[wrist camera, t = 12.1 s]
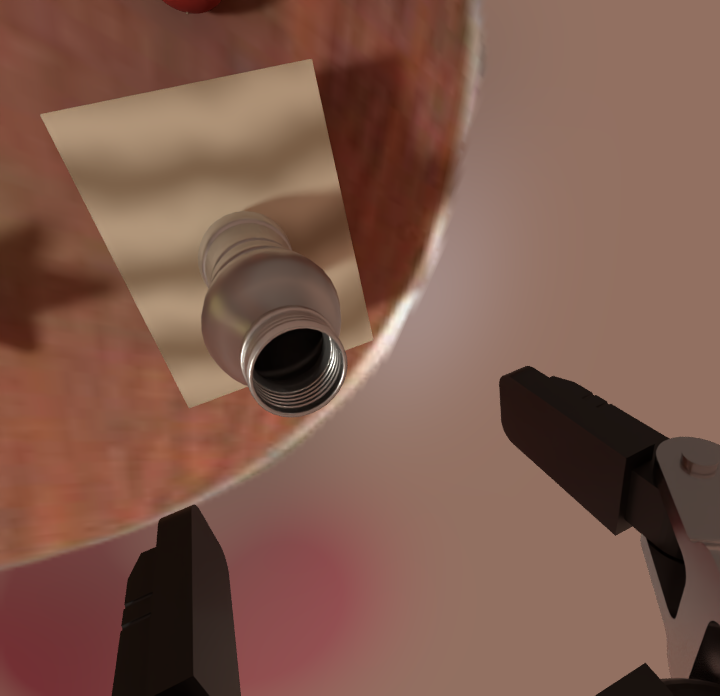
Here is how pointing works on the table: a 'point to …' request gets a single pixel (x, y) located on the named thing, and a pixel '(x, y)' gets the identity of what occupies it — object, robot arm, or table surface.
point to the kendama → (193, 5)
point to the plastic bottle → (270, 315)
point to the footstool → (209, 196)
